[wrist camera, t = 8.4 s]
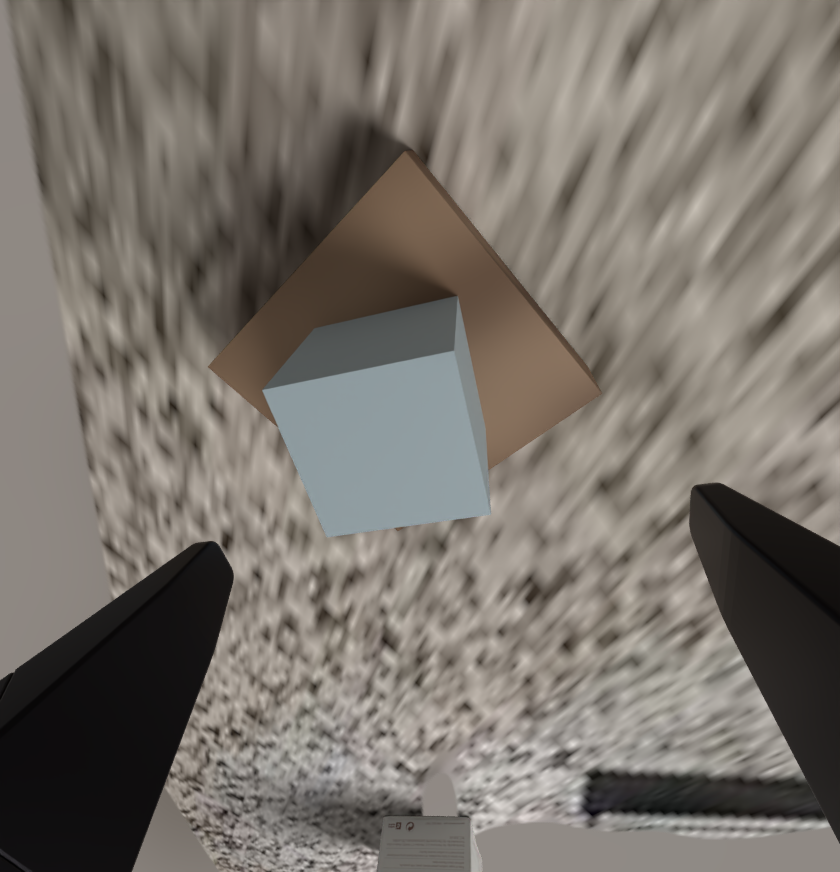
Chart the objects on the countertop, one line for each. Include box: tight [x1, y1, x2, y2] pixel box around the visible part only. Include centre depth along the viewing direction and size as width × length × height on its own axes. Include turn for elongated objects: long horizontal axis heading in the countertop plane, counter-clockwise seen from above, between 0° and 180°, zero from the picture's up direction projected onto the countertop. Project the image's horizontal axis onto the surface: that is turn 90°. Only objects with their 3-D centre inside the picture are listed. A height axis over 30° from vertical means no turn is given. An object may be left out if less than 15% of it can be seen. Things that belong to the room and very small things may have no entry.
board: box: [208, 150, 602, 531], centre depth 19 cm, size 10×10×2 cm
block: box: [262, 296, 491, 537], centre depth 15 cm, size 5×5×5 cm
